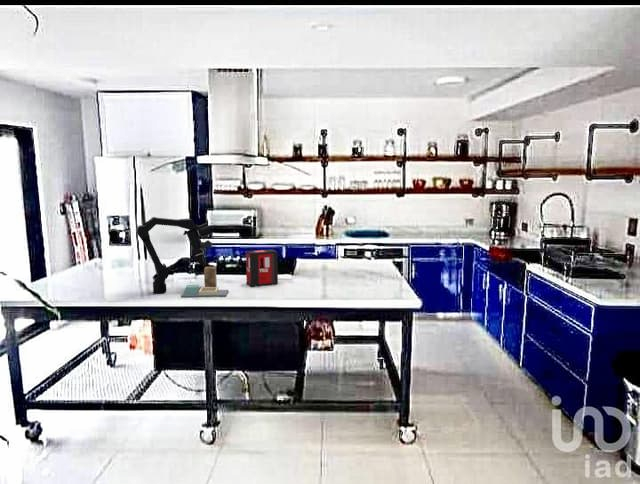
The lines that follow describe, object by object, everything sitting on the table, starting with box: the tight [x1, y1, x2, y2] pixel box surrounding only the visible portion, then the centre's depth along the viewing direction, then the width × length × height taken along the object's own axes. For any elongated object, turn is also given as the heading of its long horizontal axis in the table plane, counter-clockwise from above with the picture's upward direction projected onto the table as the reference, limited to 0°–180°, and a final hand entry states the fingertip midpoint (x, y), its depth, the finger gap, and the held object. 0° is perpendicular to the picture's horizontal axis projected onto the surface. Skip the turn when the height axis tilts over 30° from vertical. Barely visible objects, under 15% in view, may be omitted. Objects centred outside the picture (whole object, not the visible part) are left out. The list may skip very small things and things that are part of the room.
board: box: [180, 284, 229, 299], centre depth 282 cm, size 24×12×5 cm, turn 95°
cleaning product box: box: [245, 249, 279, 288], centre depth 306 cm, size 16×9×20 cm, turn 115°
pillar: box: [203, 266, 218, 287], centre depth 294 cm, size 6×6×12 cm
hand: (204, 265), depth 291 cm, fingers open, 9 cm apart
